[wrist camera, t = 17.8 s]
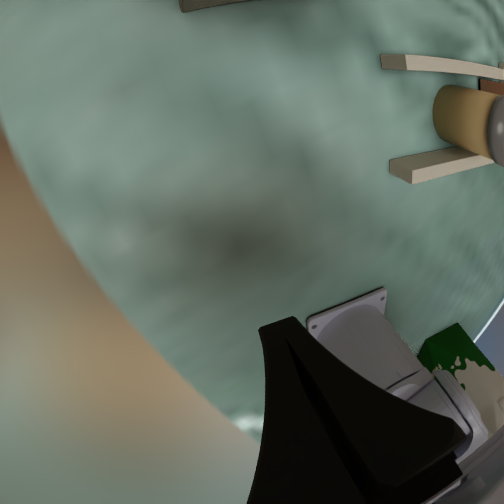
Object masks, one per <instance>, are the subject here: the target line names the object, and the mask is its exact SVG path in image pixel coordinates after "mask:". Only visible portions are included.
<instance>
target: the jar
mask: <svg viewBox="0 0 504 504" xmlns="http://www.w3.org/2000/svg"><path fill="white" fill-rule="evenodd" d="M433 121H434V126H435V129H436V131H437V133H438V135H439V136H440V138H441V139H443V140H444V141H446V142H448V143H451V144H454V145H457V146H459V147H462V148H464V149H467V150H469V151H472V152H474V153H477V154H479V155H482V156H484V157H486V158H488V159H491V160H493V161H494V162H495V163H497V164H499V165H501V166H503V167H504V95H497V94H493V93H489V92H485V91H480V90H476V89H471V88H466V87H461V86H455V85H445V86H443V87H442V88H441V89H440V90H439V91H438V93H437V95H436V97H435V100H434V105H433Z"/></svg>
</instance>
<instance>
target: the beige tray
mask: <svg viewBox="0 0 504 504" xmlns="http://www.w3.org/2000/svg"><path fill="white" fill-rule="evenodd" d="M380 58H381V64H382V69H398V70H419V71H437V72H450V73H460V74H468V75H476V76H483V77H489V78H495V79H500V83H503V84H504V64H503V63H499V68H496V67H491V66H487V65H482V64H477V63H471V62H466V61H460V60H453V59H446V58H438V57H429V56H419V55H403V54H393V55H380ZM490 163H494V161H493V160H491V159H488V158H486V157H484V156H482V155H479V154H477V153H474V152H472V151H469V150H467V149H464V148H462V147H459V146H458V147H452V148H447V149H441V150H436V151H431V152H426V153H421V154H416V155H411V156H406V157H401V158H397V159H392V160H390V173H391V174H393V175H395V176H397V177H399V178H401V179H402V180H404V181H406V182H408V183H410V184H412V185H413V184H416V183H420V182H423V181H427V180H431V179H434V178H438V177H442V176H445V175H449V174H453V173H456V172H460V171H464V170H468V169H471V168H475V167H479V166H483V165H486V164H490Z"/></svg>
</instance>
